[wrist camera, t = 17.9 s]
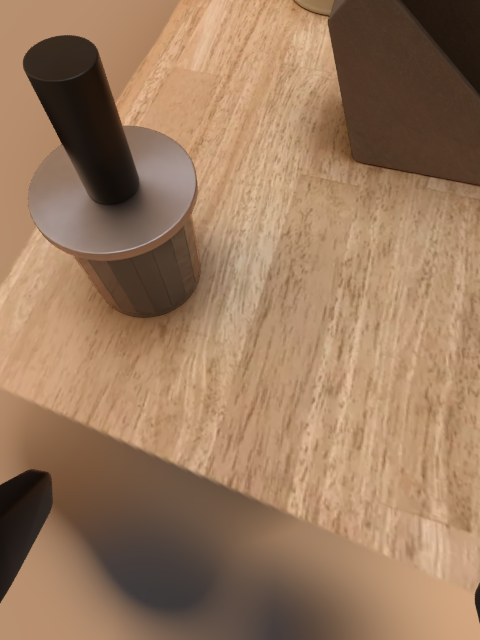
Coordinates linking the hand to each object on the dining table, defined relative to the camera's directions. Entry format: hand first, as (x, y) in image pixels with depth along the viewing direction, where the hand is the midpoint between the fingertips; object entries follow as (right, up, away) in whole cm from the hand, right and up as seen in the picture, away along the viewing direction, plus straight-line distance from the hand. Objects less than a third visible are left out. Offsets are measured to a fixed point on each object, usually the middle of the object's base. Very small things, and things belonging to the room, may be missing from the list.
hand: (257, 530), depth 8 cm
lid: (-7, +11, +12) cm, 17 cm away
